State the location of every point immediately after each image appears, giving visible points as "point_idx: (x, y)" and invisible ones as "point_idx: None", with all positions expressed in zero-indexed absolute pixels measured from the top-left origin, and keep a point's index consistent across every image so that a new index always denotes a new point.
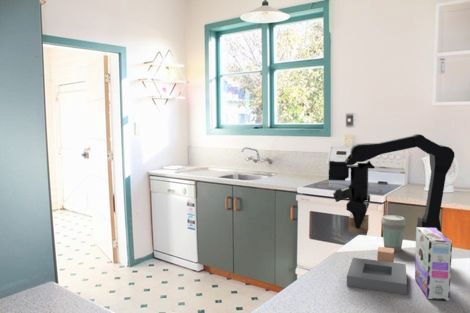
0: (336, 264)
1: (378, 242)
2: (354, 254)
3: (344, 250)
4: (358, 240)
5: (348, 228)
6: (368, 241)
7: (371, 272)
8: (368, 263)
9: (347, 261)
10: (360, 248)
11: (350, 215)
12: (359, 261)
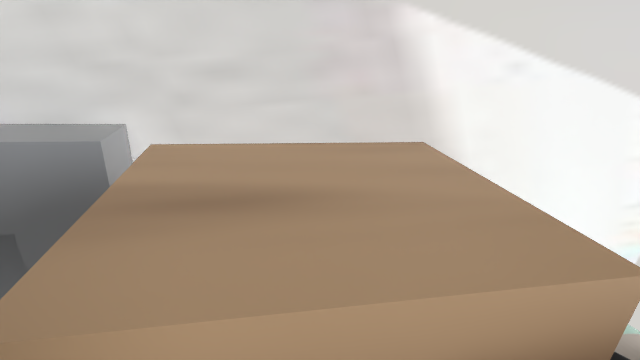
0: (101, 2)
1: (582, 217)
2: (364, 113)
3: (428, 39)
4: (620, 113)
5: (133, 164)
6: (600, 169)
7: (11, 254)
8: (28, 257)
9: (209, 81)
10: (480, 138)
11: (386, 326)
12: (32, 198)
